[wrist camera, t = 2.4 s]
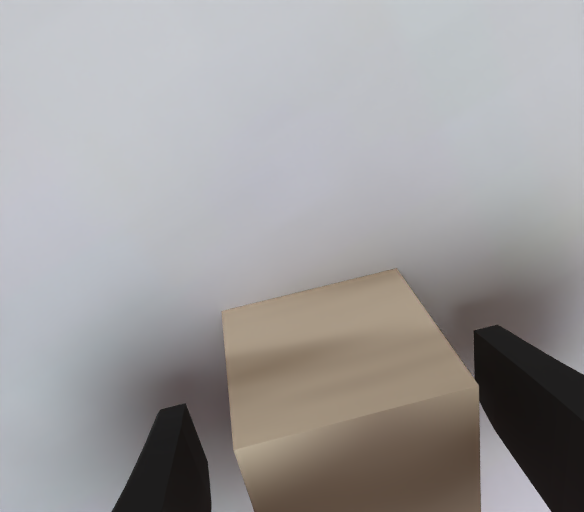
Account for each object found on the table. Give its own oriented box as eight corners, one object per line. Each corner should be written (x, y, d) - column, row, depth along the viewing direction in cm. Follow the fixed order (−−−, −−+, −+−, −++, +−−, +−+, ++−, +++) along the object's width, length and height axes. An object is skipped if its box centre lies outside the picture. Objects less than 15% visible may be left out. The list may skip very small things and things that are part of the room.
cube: (408, 396, 16) (481, 537, 12) (259, 435, 15) (282, 593, 11) (395, 266, 14) (478, 385, 10) (221, 309, 13) (233, 450, 9)
